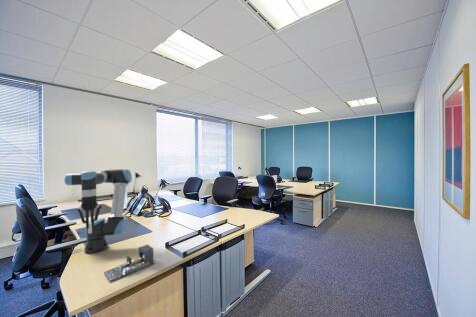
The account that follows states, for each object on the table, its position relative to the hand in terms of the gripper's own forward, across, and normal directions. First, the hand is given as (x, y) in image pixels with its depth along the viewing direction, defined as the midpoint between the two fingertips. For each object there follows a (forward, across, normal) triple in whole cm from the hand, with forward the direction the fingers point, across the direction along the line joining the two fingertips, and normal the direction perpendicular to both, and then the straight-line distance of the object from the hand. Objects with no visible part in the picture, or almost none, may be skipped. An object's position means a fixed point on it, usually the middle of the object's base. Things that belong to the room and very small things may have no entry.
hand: (90, 232), depth 125 cm
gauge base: (+24, +18, -16) cm, 34 cm away
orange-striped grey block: (+23, +23, -16) cm, 36 cm away
